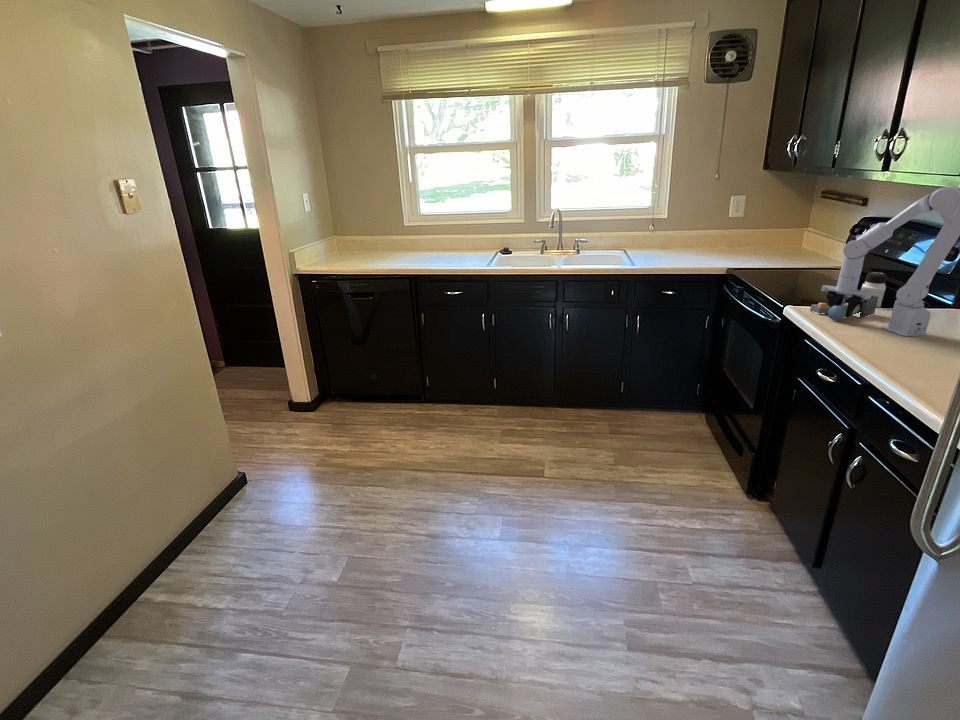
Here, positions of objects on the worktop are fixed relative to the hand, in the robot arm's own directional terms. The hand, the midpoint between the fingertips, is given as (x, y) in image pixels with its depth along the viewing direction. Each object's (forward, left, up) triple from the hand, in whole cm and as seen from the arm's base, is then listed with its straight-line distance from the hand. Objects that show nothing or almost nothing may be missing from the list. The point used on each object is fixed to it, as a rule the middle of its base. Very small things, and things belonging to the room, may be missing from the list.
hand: (839, 315), depth 176 cm
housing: (+6, -11, -2) cm, 13 cm away
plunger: (+9, 0, -1) cm, 9 cm away
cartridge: (+2, -4, -1) cm, 4 cm away
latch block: (+9, 0, -2) cm, 9 cm away
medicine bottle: (+18, -25, -2) cm, 31 cm away
